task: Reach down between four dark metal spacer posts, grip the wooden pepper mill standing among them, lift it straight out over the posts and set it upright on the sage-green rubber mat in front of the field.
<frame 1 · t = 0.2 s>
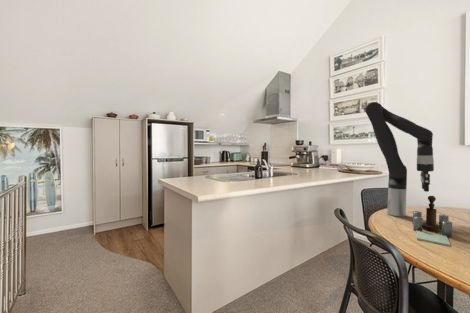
hand: (425, 190, 126), 18 cm above the table, tool pointing down, fingers open, 8 cm apart
wooden pepper mill: (430, 230, 111), on the table
green mat: (431, 238, 100), on the table
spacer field: (430, 229, 111), on the table
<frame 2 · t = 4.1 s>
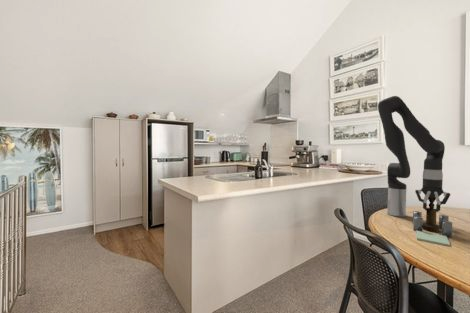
hand: (431, 210, 111), 10 cm above the table, tool pointing down, fingers closed on wooden pepper mill, 4 cm apart
wooden pepper mill: (430, 230, 111), on the table, touching gripper
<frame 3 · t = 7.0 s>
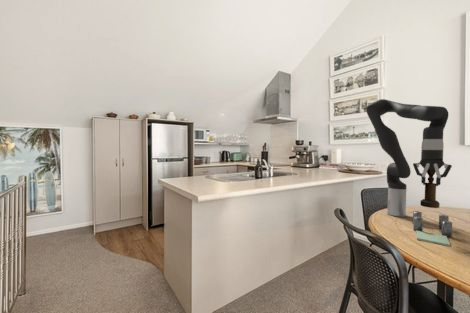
hand: (430, 185, 100), 25 cm above the table, tool pointing down, fingers closed on wooden pepper mill, 4 cm apart
wooden pepper mill: (429, 206, 100), point 15 cm above the table, touching gripper
when the fingers open (12 cm above the table, at t = 10.4 s): wooden pepper mill drops 1 cm, resting on green mat.
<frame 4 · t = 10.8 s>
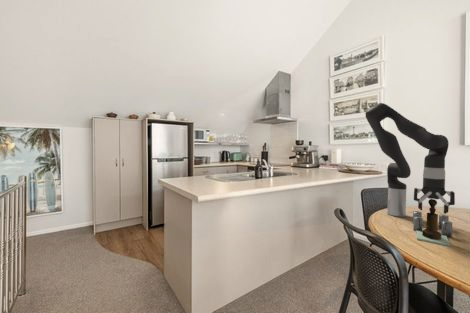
hand: (432, 211, 100), 13 cm above the table, tool pointing down, fingers open, 8 cm apart
wooden pepper mill: (431, 237, 100), point 1 cm above the table, touching green mat
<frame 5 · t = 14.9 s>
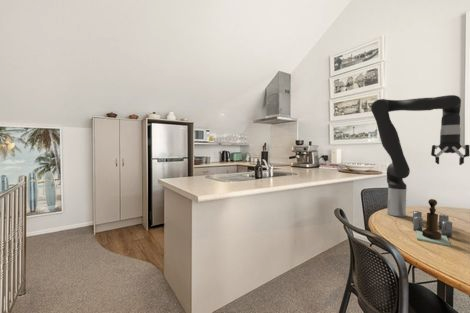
hand: (449, 164, 113), 34 cm above the table, tool pointing down, fingers open, 8 cm apart
nothing on the table moved.
at the end: wooden pepper mill inside the target area on the green mat (0.1 cm from its centre), point 0.6 cm above the green mat's base; wooden pepper mill tilted 0°; the gripper is holding nothing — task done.
